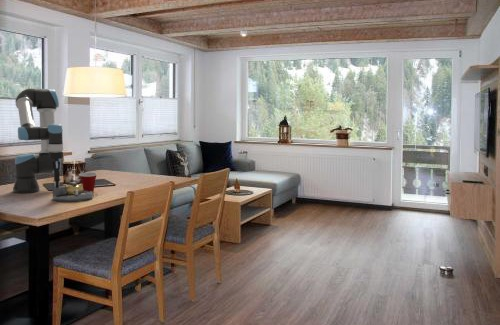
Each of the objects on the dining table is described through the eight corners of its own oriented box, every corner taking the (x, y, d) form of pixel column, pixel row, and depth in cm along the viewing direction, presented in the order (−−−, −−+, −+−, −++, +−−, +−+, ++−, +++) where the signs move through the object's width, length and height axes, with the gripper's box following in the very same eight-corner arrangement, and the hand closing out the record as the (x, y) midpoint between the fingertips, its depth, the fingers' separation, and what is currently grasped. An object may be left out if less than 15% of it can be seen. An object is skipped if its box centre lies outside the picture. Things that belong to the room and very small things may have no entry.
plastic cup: (77, 194, 288) (77, 174, 286) (81, 190, 298) (80, 172, 297) (96, 193, 289) (95, 174, 288) (98, 190, 300) (98, 172, 299)
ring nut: (75, 190, 281) (75, 180, 281) (86, 192, 275) (86, 182, 275) (48, 194, 267) (48, 184, 266) (60, 196, 261) (59, 186, 260)
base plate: (56, 195, 282) (55, 184, 281) (94, 194, 288) (94, 183, 287) (49, 202, 261) (49, 191, 260) (91, 201, 266) (91, 190, 266)
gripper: (48, 150, 270) (49, 190, 273) (49, 152, 258) (50, 194, 261) (62, 150, 273) (63, 189, 276) (63, 152, 261) (65, 193, 264)
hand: (57, 192), depth 268 cm, fingers closed
